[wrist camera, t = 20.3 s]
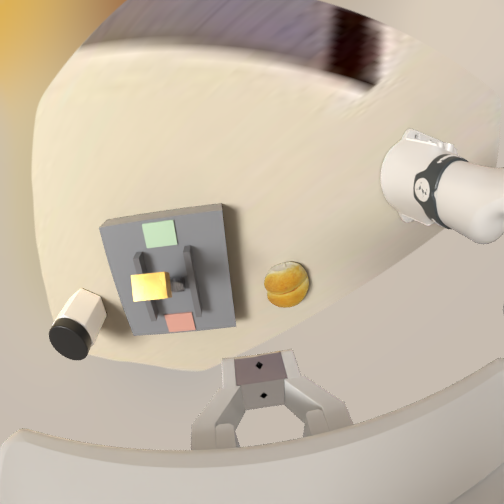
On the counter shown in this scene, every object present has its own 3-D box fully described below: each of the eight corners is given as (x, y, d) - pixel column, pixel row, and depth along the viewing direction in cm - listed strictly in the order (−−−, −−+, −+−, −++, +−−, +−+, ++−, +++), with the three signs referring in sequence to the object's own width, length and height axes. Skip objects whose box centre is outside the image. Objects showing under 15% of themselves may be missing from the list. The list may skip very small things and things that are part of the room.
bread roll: (270, 306, 55) (274, 318, 52) (259, 268, 52) (263, 279, 48) (310, 294, 55) (316, 305, 52) (302, 255, 52) (309, 265, 48)
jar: (68, 311, 50) (46, 348, 39) (72, 282, 47) (46, 318, 36) (104, 328, 52) (87, 367, 42) (110, 299, 50) (92, 339, 39)
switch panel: (221, 203, 45) (222, 214, 40) (234, 313, 55) (237, 335, 49) (107, 219, 44) (93, 233, 38) (137, 323, 53) (131, 344, 47)
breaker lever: (184, 274, 46) (166, 271, 33) (186, 293, 46) (169, 297, 32) (155, 277, 45) (128, 275, 32) (157, 296, 45) (131, 301, 32)
